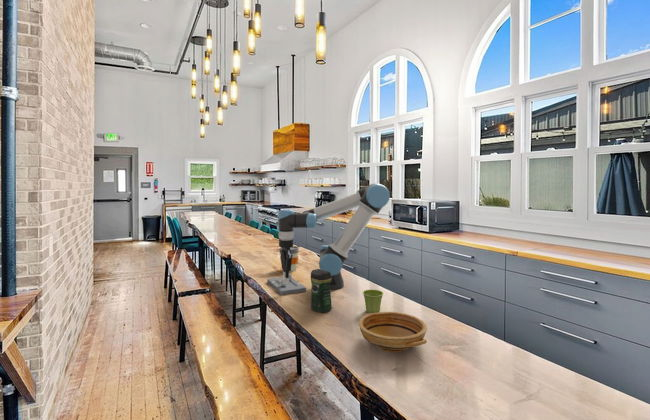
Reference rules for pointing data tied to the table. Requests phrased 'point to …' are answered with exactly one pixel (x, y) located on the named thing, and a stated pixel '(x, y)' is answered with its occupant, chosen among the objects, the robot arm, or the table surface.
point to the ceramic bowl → (393, 330)
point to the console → (289, 288)
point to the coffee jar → (321, 290)
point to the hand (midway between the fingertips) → (286, 283)
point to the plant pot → (373, 300)
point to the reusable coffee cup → (293, 257)
